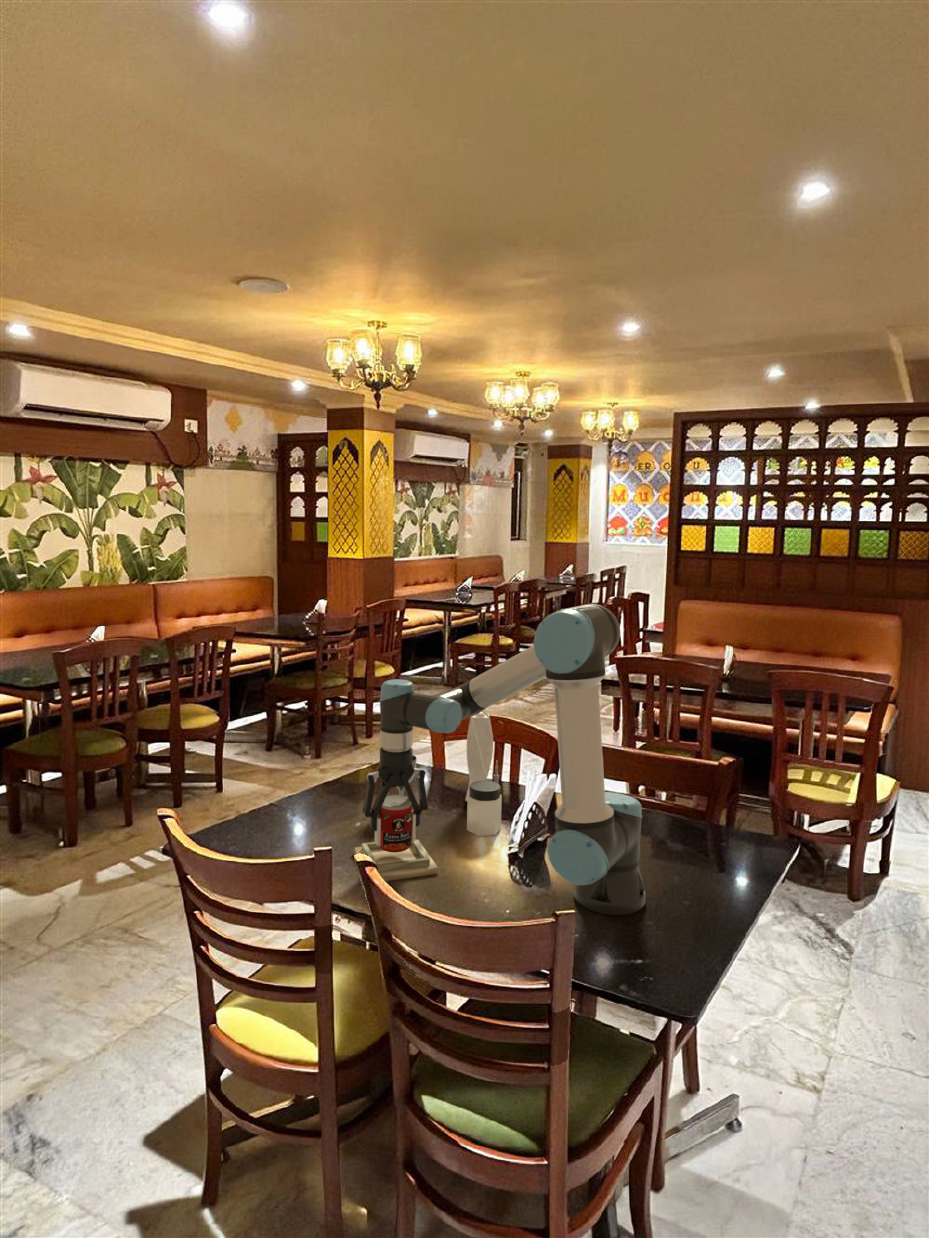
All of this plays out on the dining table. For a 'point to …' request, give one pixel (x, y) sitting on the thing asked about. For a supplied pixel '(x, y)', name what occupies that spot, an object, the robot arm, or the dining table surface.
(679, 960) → the dining table surface
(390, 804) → the canned food
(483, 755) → the white vase
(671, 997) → the dining table surface
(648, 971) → the dining table surface
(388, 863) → the holder
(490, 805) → the jar
